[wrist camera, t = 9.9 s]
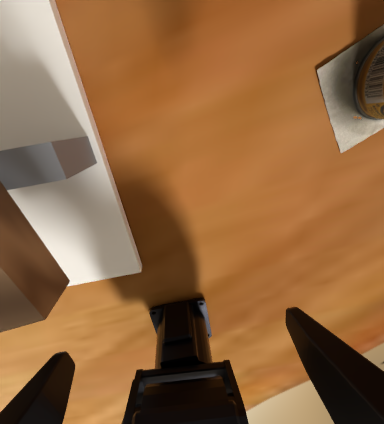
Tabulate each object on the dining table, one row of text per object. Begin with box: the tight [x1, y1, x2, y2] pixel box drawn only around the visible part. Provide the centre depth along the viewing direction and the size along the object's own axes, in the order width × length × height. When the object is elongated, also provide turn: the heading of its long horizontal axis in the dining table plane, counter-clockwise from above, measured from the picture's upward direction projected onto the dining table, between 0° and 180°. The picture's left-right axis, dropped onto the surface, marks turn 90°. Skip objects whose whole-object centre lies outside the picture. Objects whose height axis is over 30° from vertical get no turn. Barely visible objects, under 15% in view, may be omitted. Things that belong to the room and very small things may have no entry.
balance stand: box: [0, 0, 142, 286], centre depth 14 cm, size 24×11×6 cm, turn 9°
